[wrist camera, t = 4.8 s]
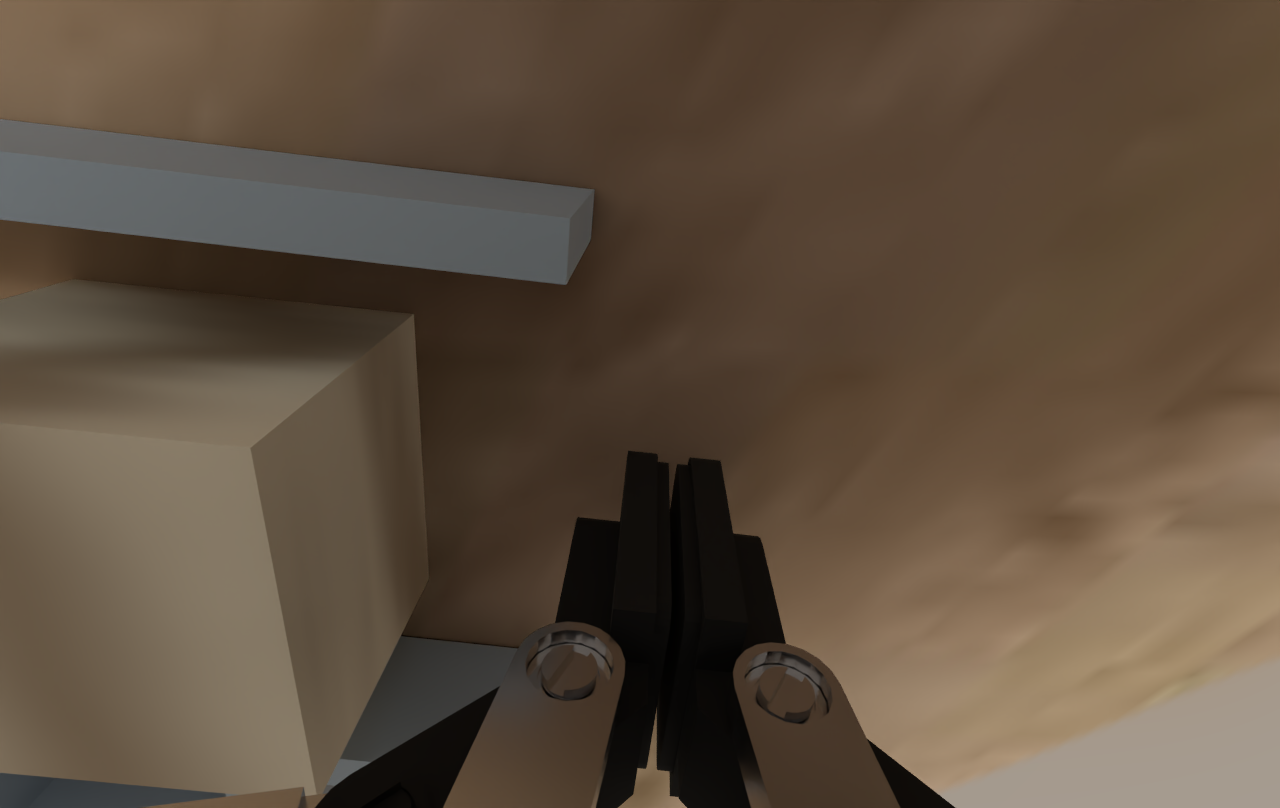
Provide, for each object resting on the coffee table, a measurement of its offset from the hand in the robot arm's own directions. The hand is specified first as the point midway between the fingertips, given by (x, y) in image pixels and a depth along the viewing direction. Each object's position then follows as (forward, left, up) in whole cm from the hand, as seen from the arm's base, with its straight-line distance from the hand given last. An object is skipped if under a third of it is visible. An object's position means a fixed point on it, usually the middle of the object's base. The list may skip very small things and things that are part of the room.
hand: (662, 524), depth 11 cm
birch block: (+8, 0, -1) cm, 8 cm away
